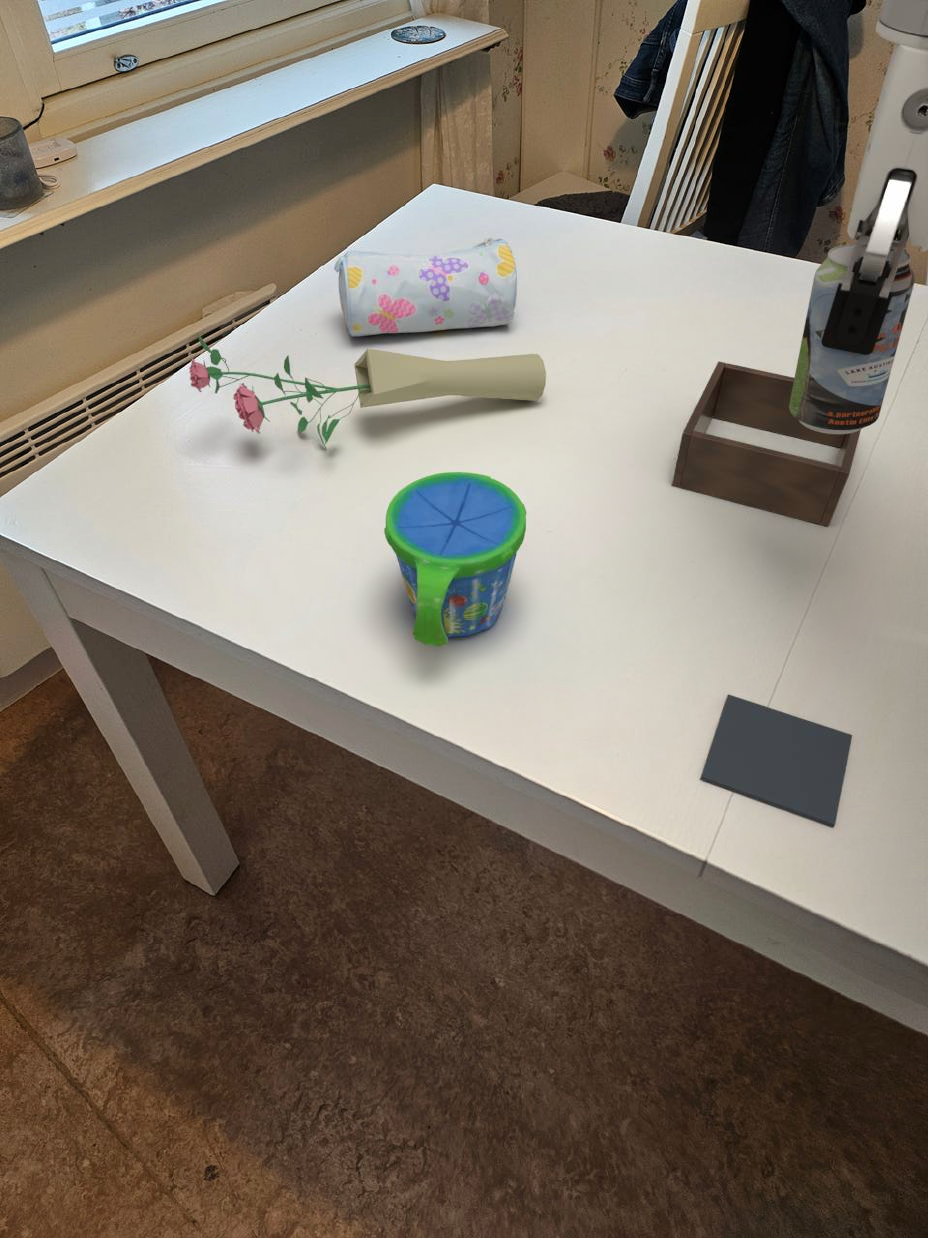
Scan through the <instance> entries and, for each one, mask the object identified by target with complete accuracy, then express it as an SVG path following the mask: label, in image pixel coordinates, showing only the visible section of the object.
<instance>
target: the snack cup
mask: <svg viewBox="0 0 928 1238" xmlns="http://www.w3.org/2000/svg"><path fill="white" fill-rule="evenodd" d="M526 530H527V509H526V507H525V504H524V503H523V502H522V499H521V498H519V496H518V495H517V493H515V491H514V490H513V489H511V488H510V487H509V486H507V485H506V484H504V483H503V482H500V481H499V480H497V479H494V478H492V477H491V476H490V475H487V474H481V473H474V472H467V471H466V472H465V471H450V472H449V471H447V472H440V473H434V474H431V475H426V476H424V477H421V478H419V479H417V480H414V481H413V482H411V483H409V484H407V485H405V486H404V487H403V488H401V489H400V490H399V491H398V492H397V493H396V495H395V496H393V498H392V499H391V501H390V502H389V504H388V506H387V509H386V514H385V527H384V528H383V531H384V535H385V539H386V542H387V543H388V546H390V547H391V549H392V550H393V552H394V554H395V556H396V560H397V562H398V565H399V569H400V573H401V577H402V580H403V583H404V587H405V590H406V594H407V596H408V600H409V603H410V605H411V608H412V610H413V614H414V618H415V620H414V625H413V629H412V636H413V637H414V640H415V641H417V642H419V643H420V644H423V645H427V646H433V647H443V646H446V645H447V644H448V642H449V638H452V637H466V636H471V635H476V634H478V633H480V632H481V631H483V630H488V629H490V628H491V627H492V626H494V625H495V622H496V621H497V619H498V617H499V616H500V615H501V613H502V610H503V608H504V604H505V600H506V597H507V593H508V588H509V584H510V582H511V577H512V574H513V570H514V565H515V561H516V558H517V552H518V551H519V550H520V548H521V546H522V544H523V542H524V540H525V535H526V532H527V531H526Z"/></svg>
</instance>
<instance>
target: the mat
mask: <svg viewBox="0 0 928 1238" xmlns="http://www.w3.org/2000/svg"><path fill="white" fill-rule="evenodd" d="M721 711H722V712H721V715H720V718H719V720H718V724H717V726H716V730H715V733H714V736H713V739H712V742H711V744H710V748H709V750H708V754H707V757H706V760H705V764H704V767H703V770H702V773H701V776H700V780H701V781H704V782H706V783H709V784H712V785H715V786H718V787H721V788H723V789H726V790H729V791H731V792H734V793H737V794H739V795H742V796H745V797H748V798H751V799H754V800H756V801H759V802H761V803H765V804H768V805H770V806H773V807H775V808H778V809H781V810H784V811H787V812H790V813H792V814H795V815H797V816H799V817H800V816H801V817H803V818H805V819H809V820H812V821H814V822H816V823H820V824H823V825H825V826H827V827H831V828H834V827H835V825H836V821H837V816H838V810H839V806H840V801H841V795H842V791H843V790H842V789H843V785H844V780H845V776H846V775H845V774H846V771H847V770H846V768H847V765H848V759H849V756H850V755H849V754H850V750H851V749H850V748H851V743H852V740H853V739H852V738H853V735H852V734H851V733H847V732H845V731H842V730H839V729H835V728H833V727H829V726H826V725H824V724H821V723H817V722H814V721H811V720H808V719H805V718H803V717H799V716H797V715H796V716H795V715H793V714H790V713H788V712H787V713H786V712H783V711H781V710H778V709H776V708H775V709H774V708H772V707H769V706H765V705H763V704H759V703H757V702H753V701H750V700H748V699H744V698H741V697H738V696H735V695H732V694H729V693H728V694H727V697H726V699H725V702H724V706H723V708H722V710H721Z"/></svg>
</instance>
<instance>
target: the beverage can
mask: <svg viewBox="0 0 928 1238" xmlns="http://www.w3.org/2000/svg"><path fill="white" fill-rule="evenodd" d="M854 246H855V243H847V244H842V245H841V244H840V245H836V246H835V247H833V248H831V249H829V251H828V252H827V257H826V259H825V260H824V261H823V262H821V264H820V265H819V266H818V267H817V269H816V271H815V273H814V274H813V275H814V276H813V281H812V285H811V291H810V297H809V301H808V307H807V312H806V317H805V322H804V327H803V332H802V338H801V342H800V348H799V352H798V358H797V364H796V369H795V373H794V377H793V378H794V383H793V388H792V393H791V399H790V404H789V410H790V412H791V414H792V415H793V416H794V417H795V418H797V419H798V420H799V421H800V423H801V424H802V425H804V426H805V427H807V428H809V429H811V430H814V431H818V432H821V433H827V434H849V433H853V432H856V431H859V430H861V431H862V430H863V429H864V428H867V427H869V426H871V425H873V424H874V423H876V422H877V421H878V419H879V417H880V414H881V411H882V406H883V403H884V398H885V396H886V392H887V387H888V383H889V381H890V376H891V373H892V368H893V365H894V362H895V358H896V354H897V350H898V346H899V343H900V339H901V336H902V331H903V327H904V324H905V320H906V316H907V312H908V308H909V305H910V301H911V297H912V293H913V290H914V286H915V282H916V279H915V274H914V271H913V267H912V265H911V264H910V263H911V260H912V256H911V254H910V253H909V252H908V251H907V250H906V251H903V254H902V257H901V260H900V263H899V266H898V269H897V272H896V275H895V277H894V280H893V283H892V286H891V289H890V292H893V296H892V299H891V301H890V304H889V307H888V310H887V313H886V316H885V318H884V321H883V324H882V327H881V330H880V333H879V336H878V338H877V341H876V344H875V347H874V350H873V352H872V353H871V354H869V355H862V354H857V353H852V352H847V351H842V350H837V349H832V348H827V347H824V346H823V345H822V343H821V340H822V337H823V334H824V330H825V327H826V324H827V321H828V317H829V314H830V311H831V307H832V304H833V301H834V297H835V294H836V291H837V288H838V285H839V283H841V284H843V281H844V277H845V274H846V271H847V268H848V265H849V262H850V259H851V255H852V252H853V249H854ZM866 249H867V247H864V248H863V251H862V254H861V257H864V255H865V252H866ZM893 252H894V251H889V253H888V256H887V259H886V261H891V258H892V255H893ZM889 264H890V262H889ZM883 282H884V281H883ZM882 284H883V283H882ZM880 290H881V289H880Z"/></svg>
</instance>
